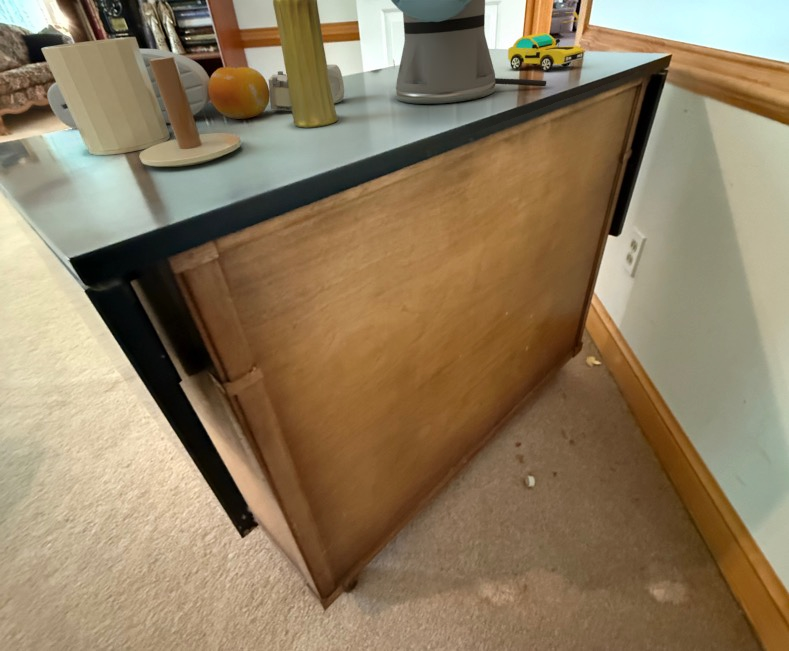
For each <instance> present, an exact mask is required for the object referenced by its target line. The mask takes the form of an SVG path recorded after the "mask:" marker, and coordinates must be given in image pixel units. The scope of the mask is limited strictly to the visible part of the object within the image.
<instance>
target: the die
mask: <svg viewBox="0 0 789 651" xmlns="http://www.w3.org/2000/svg"><path fill="white" fill-rule="evenodd" d="M327 68H328V75H329V80H330V86H331V91H332V97H333V102H334V104H338V103H340V102H342V101H343V99H344V97H345V85H344V79H343V74H342V71H341V68H340V67H339V66H338V65H337V64H327Z"/></svg>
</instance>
